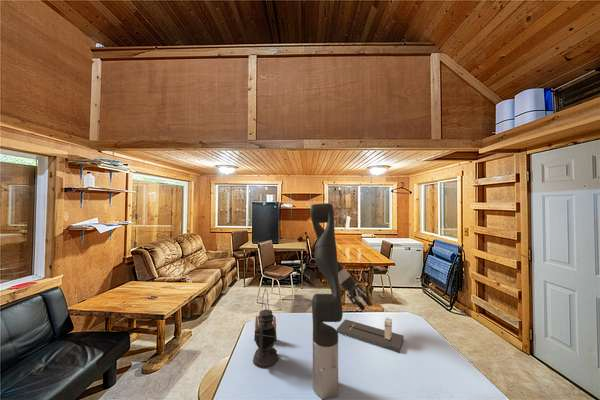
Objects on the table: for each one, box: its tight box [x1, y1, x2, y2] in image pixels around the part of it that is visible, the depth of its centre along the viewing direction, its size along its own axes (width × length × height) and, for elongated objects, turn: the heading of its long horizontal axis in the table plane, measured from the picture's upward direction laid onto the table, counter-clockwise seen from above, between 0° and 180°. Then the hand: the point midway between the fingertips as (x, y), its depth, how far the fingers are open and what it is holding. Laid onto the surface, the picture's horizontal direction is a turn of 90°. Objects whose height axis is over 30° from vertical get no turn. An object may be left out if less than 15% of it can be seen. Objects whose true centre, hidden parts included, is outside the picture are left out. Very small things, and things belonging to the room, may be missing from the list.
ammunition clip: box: [254, 315, 278, 343], centre depth 112 cm, size 11×2×12 cm, turn 87°
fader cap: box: [384, 317, 393, 340], centre depth 111 cm, size 2×4×8 cm, turn 148°
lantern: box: [252, 288, 279, 369], centre depth 99 cm, size 12×11×30 cm
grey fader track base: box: [336, 318, 405, 354], centre depth 116 cm, size 30×12×2 cm, turn 58°
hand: (366, 306), depth 117 cm, fingers open, 8 cm apart
